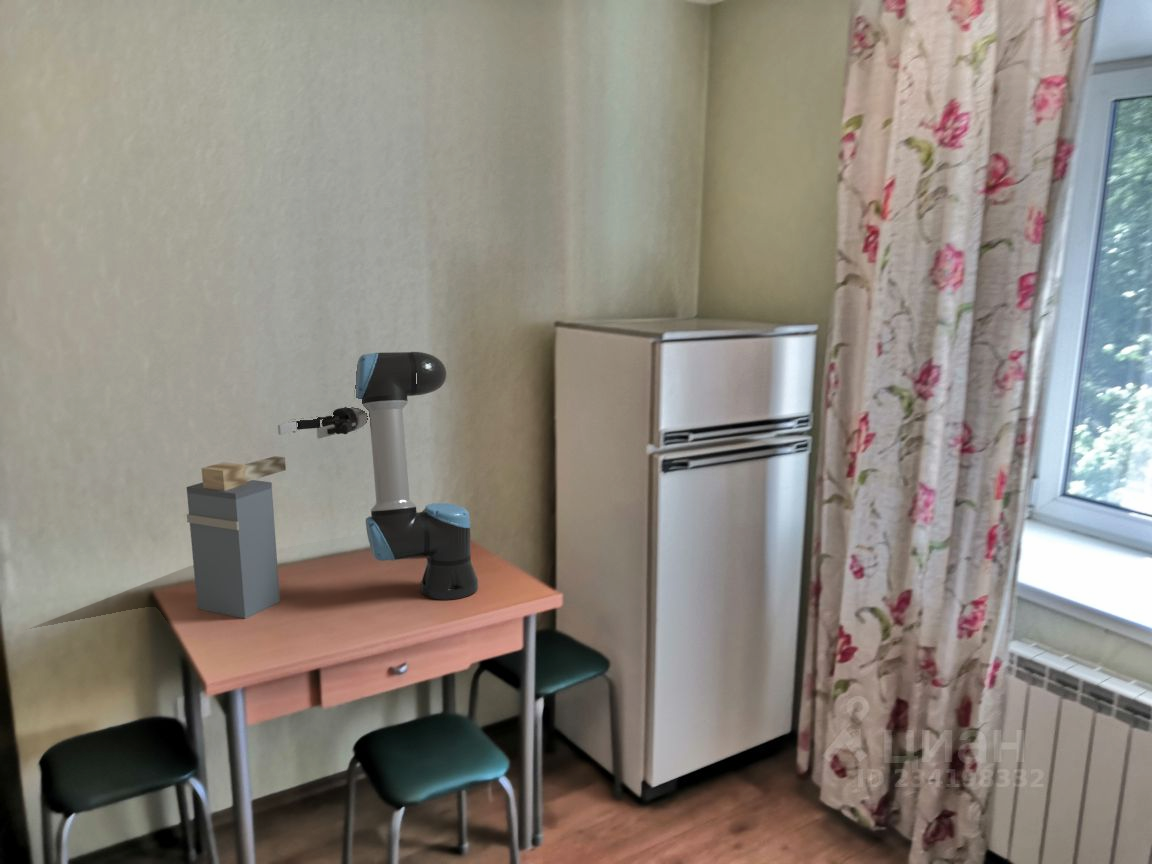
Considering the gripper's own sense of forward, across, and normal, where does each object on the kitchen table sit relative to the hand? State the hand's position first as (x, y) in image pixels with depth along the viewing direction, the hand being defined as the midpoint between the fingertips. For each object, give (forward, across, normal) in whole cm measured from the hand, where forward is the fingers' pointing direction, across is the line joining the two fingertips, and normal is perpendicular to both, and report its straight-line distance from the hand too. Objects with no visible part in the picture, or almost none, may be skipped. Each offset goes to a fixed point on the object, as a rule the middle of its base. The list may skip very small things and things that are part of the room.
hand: (298, 431), depth 235 cm
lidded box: (+26, 0, -41) cm, 48 cm away
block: (+20, 0, -9) cm, 22 cm away
